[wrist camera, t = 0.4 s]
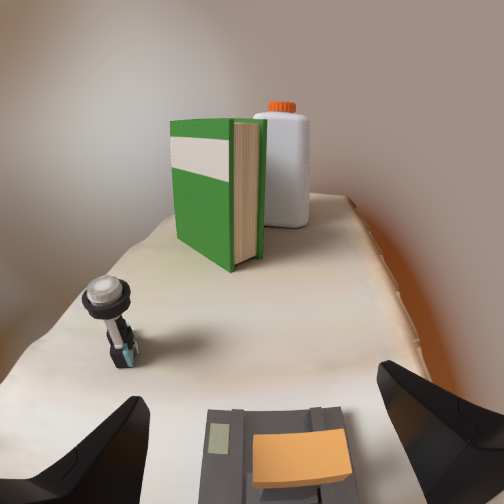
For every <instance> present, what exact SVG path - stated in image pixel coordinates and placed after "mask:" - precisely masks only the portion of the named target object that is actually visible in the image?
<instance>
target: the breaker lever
mask: <svg viewBox="0 0 504 504" xmlns="http://www.w3.org/2000/svg"><path fill="white" fill-rule="evenodd" d="M351 473H352V469H351V463H350V458H349V453H348V448H347V442H346V437H345V433H344V428H343V429H336V430H327V431H318V432H307V433H293V434H262V435H254V436H253V473H247V480H246V504H317V503H318V496H317V489H318V488H319V487H320V486H321V485H322V484H325V483H332V482H338V481H343V480H344V479H345V478H346V477H348V476H349V475H350V474H351Z"/></svg>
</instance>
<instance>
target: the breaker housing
mask: <svg viewBox="0 0 504 504" xmlns="http://www.w3.org/2000/svg"><path fill="white" fill-rule="evenodd" d="M343 428H344V433H345V437H346V442H347V448H348V453H349V458H350V463H351V469H352V473H351V474H350V475H349V476H348V477H346V478H345V479H344V480H343V481H338V482H332V483H325V484H322V485H321V486H320V487H319V488H318V489H317V496H318V503H317V504H359V499H358V493H357V487H356V481H355V476H354V470H353V465H352V459H351V454H350V449H349V444H348V439H347V434H346V429H345V425H344V420H343V415H342V411H341V406H340V407H332V408H321V407H316V408H310V409H309V410H293V411H244V410H238V409H232V411H226V410H209V409H208V413H207V422H206V431H205V440H204V449H203V458H202V468H201V478H200V489H199V500H198V504H246V480H247V473H253V436H254V435H262V434H293V433H307V432H318V431H327V430H336V429H343Z"/></svg>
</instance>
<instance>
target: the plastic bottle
mask: <svg viewBox="0 0 504 504" xmlns="http://www.w3.org/2000/svg"><path fill="white" fill-rule="evenodd" d="M269 111H270V112H267V113H258V114H256V115H255V116H254V118H253V119H268V121H267V154H266V183H265V210H264V226H275V227H288V228H298V227H302V226H304V225H306V224H307V222H308V220H309V186H310V185H309V184H310V136H309V135H310V131H309V119H308V118H307V117H306V116H303V115H299V114H295V113H294V112H295V111H296V105H295V103H291V102H276V101H275V102H274V101H273V102H270V103H269Z"/></svg>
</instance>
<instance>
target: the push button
mask: <svg viewBox="0 0 504 504" xmlns="http://www.w3.org/2000/svg"><path fill="white" fill-rule="evenodd" d="M130 293H131V291H130V287H129V285H128V283H127V282H125V281H123V280H121V279H118V278H116V277H115V276H111V275H105V276H101V277H97V278H95V279H94V280H92V281H91V282H90V283H89V284H88V286H87V289H86V290H85V292H84V293H83V295H82V303H83V305H84V307H85V308H86V309H87V310H88V312H89V314H90V316H92V317H93V318H95V319H102V320H104V321H105V324H106V326H107V338H108V341H109V343H110V345H111V347H110V356H111V358H112V360H113V362H114V364H115V366H116V368H122V367H134V347H136V351H137V353H138V354H139V347H138V345H137V342H136V340H134V335H133V332H132V329H131V327H130V325H129V323H128V322H126V321H125V319H123V317H122V313H123V312H125V311H126V310H127V309H128V308H129V306H130V303H131V301H130V298H129V297H130ZM137 349H138V350H137Z"/></svg>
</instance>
